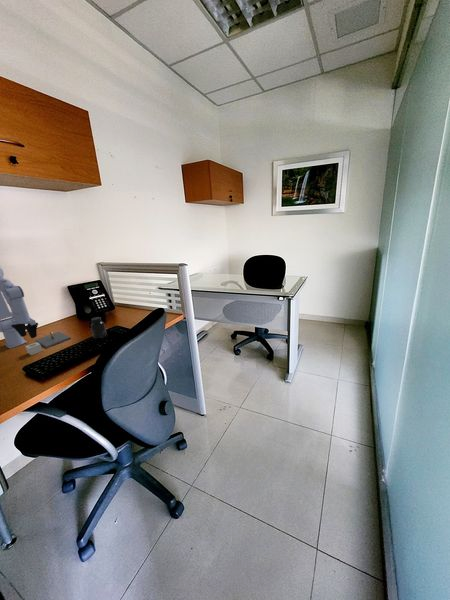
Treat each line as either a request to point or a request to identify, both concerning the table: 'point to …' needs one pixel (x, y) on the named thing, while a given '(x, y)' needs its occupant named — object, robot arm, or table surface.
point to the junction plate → (53, 339)
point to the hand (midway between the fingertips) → (29, 336)
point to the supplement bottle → (98, 328)
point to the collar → (33, 348)
